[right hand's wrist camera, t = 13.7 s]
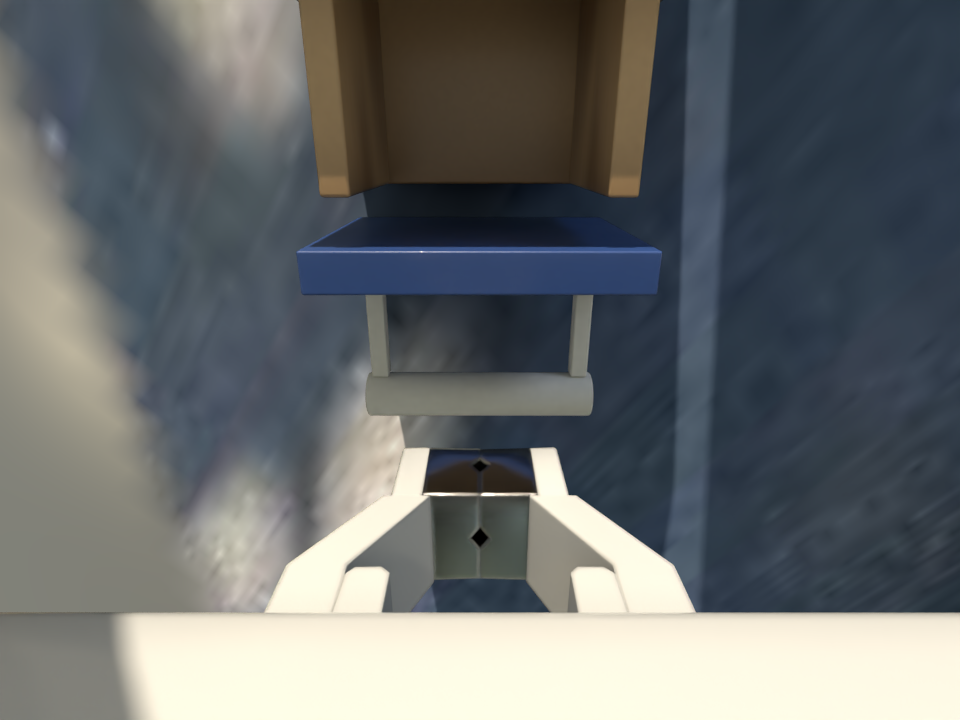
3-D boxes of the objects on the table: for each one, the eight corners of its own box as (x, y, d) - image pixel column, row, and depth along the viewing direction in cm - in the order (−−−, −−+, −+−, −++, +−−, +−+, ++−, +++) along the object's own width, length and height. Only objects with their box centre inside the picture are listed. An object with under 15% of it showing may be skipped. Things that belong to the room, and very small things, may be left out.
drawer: (587, 374, 23) (634, 471, 16) (371, 374, 23) (324, 471, 16) (657, -452, 14) (835, -1061, 7) (302, -452, 14) (123, -1059, 7)
